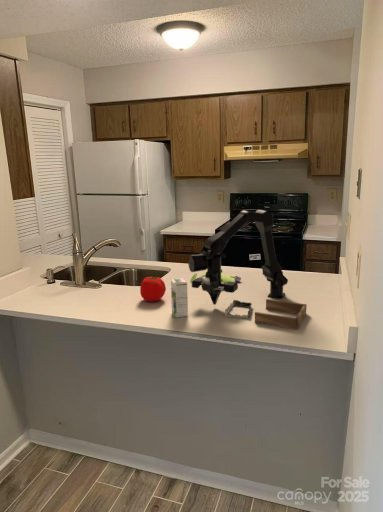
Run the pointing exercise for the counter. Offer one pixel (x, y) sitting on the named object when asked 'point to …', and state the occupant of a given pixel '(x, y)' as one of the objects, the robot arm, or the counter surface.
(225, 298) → the counter surface
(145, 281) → the tomato
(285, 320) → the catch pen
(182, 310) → the white tall box
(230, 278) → the figurine
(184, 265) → the counter surface
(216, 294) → the robot arm
